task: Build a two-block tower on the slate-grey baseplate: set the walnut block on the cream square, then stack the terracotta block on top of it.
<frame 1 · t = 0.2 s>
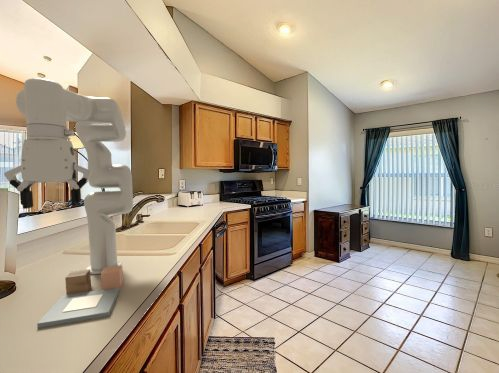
hand: (52, 206, 62), 31 cm above the worktop, tool pointing down, fingers open, 9 cm apart
walnut block: (79, 291, 86), on the worktop
baseplate: (84, 307, 75), on the worktop
terracotta block: (112, 286, 89), on the worktop
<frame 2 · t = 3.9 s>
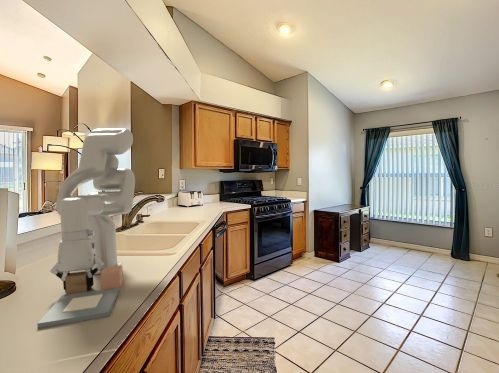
hand: (79, 289, 86), 1 cm above the worktop, tool pointing down, fingers closed on walnut block, 5 cm apart
walnut block: (79, 290, 86), on the worktop, touching gripper
everything else where it was.
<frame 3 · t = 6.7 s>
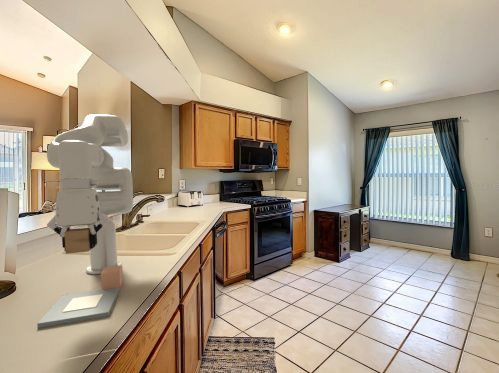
hand: (80, 248, 74), 17 cm above the worktop, tool pointing down, fingers closed on walnut block, 5 cm apart
walnut block: (80, 249, 74), point 17 cm above the worktop, touching gripper
everything else where it was.
when the fingers open (3 cm above the worktop, at t = 9.7 s): walnut block stays where it is, resting on baseplate.
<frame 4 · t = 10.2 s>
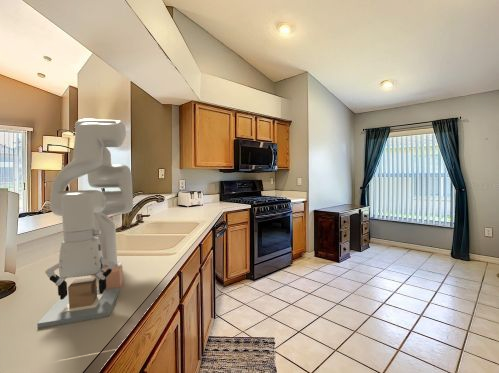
hand: (83, 294, 75), 4 cm above the worktop, tool pointing down, fingers open, 9 cm apart
walnut block: (83, 302, 75), point 1 cm above the worktop, touching baseplate
everything else where it was.
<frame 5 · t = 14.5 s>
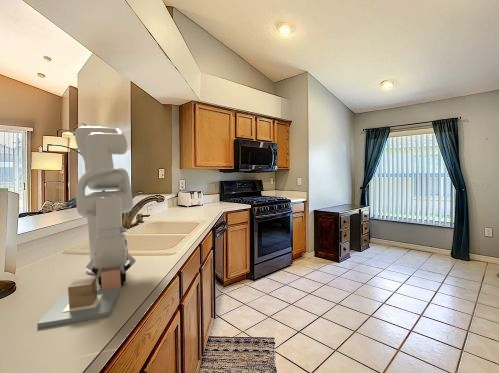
hand: (112, 284, 89), 1 cm above the worktop, tool pointing down, fingers closed on terracotta block, 5 cm apart
terracotta block: (112, 286, 89), on the worktop, touching gripper
everything else where it was.
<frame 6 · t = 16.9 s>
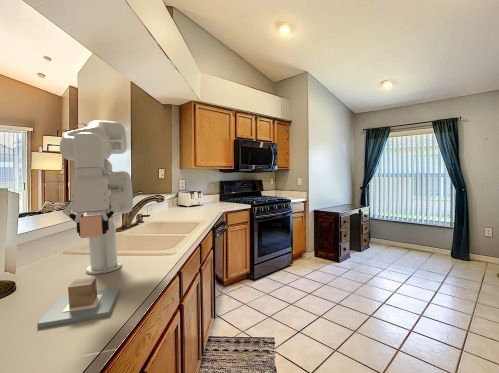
hand: (93, 233, 79), 20 cm above the worktop, tool pointing down, fingers closed on terracotta block, 5 cm apart
terracotta block: (93, 235, 79), point 20 cm above the worktop, touching gripper
everything else where it was.
when the fingers open (9 cm above the worktop, at t = 19.7 s): terracotta block drops 1 cm, resting on walnut block.
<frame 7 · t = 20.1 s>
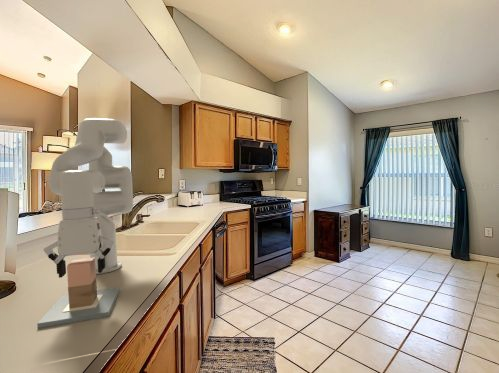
hand: (82, 273, 74), 10 cm above the worktop, tool pointing down, fingers open, 9 cm apart
walnut block: (83, 302, 75), point 1 cm above the worktop, touching baseplate, terracotta block
terracotta block: (82, 281, 75), point 7 cm above the worktop, touching walnut block
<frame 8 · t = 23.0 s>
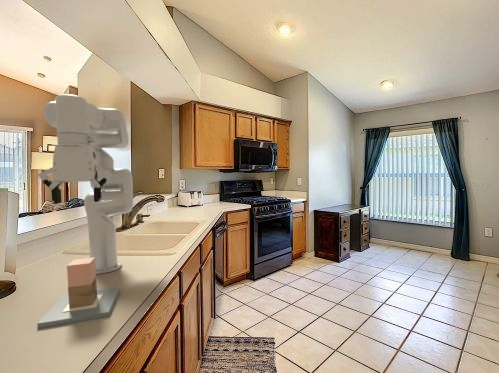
hand: (77, 202, 73), 30 cm above the worktop, tool pointing down, fingers open, 9 cm apart
nothing on the worktop moved.
at the end: walnut block 0.0 cm off-centre on the baseplate, point 1.4 cm above the baseplate's base; terracotta block 0.0 cm off-centre on the walnut block, point 6.0 cm above the walnut block's base; terracotta block tilted 0° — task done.
